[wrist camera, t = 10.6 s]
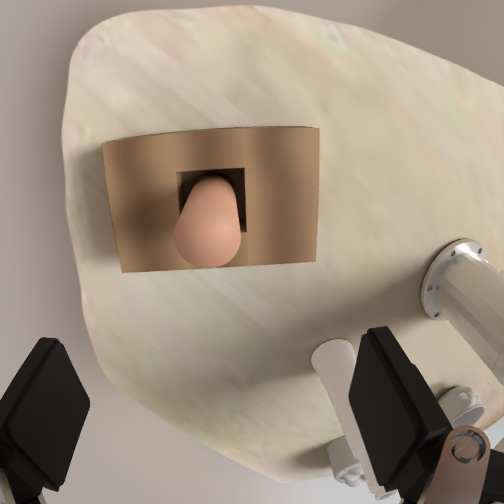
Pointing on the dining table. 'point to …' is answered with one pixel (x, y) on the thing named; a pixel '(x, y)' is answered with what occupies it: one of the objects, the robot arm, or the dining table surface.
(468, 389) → the teacup
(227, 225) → the peg
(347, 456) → the lumpy-topped squat cylinder
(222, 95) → the dining table surface
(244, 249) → the socket board
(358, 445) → the cosmetic bottle
